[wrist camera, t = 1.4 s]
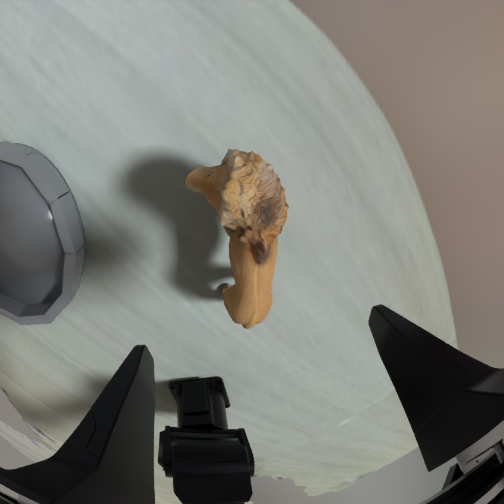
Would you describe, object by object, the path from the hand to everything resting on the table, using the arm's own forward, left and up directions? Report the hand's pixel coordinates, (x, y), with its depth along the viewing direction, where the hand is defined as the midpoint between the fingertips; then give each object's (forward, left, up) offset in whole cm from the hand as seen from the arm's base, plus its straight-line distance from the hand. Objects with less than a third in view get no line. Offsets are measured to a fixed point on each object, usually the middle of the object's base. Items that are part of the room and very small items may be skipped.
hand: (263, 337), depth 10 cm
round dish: (+3, +21, -13) cm, 25 cm away
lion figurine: (-1, 0, -13) cm, 13 cm away
